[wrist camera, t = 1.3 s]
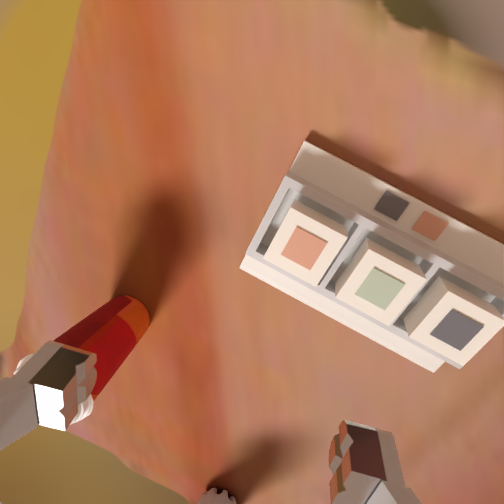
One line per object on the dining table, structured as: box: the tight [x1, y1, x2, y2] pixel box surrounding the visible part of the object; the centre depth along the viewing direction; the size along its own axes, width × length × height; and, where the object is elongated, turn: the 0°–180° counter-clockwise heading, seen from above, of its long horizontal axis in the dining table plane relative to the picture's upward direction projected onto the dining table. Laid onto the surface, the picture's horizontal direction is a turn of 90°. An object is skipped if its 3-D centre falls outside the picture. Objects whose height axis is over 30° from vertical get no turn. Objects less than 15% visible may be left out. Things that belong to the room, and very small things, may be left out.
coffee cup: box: [14, 295, 150, 428], centre depth 40 cm, size 8×8×15 cm
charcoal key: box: [403, 276, 504, 366], centre depth 32 cm, size 6×6×3 cm
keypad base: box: [239, 140, 504, 373], centre depth 35 cm, size 24×15×4 cm, turn 65°
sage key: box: [335, 237, 427, 326], centre depth 32 cm, size 6×6×3 cm
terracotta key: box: [263, 199, 348, 287], centre depth 32 cm, size 6×6×3 cm
